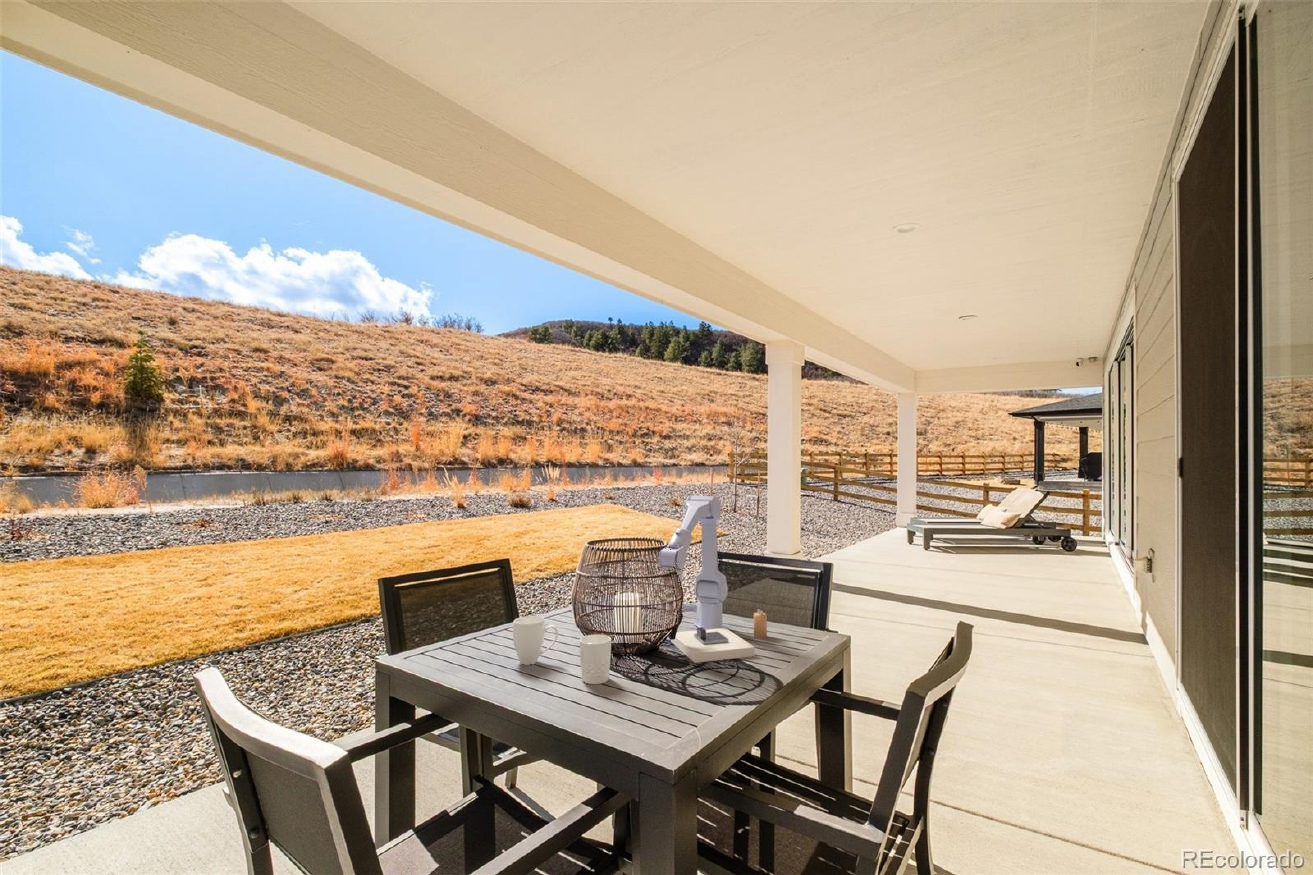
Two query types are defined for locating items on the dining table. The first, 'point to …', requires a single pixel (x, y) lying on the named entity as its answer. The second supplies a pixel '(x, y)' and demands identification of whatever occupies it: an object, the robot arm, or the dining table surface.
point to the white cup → (595, 658)
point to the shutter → (709, 636)
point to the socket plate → (713, 646)
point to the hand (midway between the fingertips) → (671, 638)
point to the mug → (530, 638)
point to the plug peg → (760, 625)
